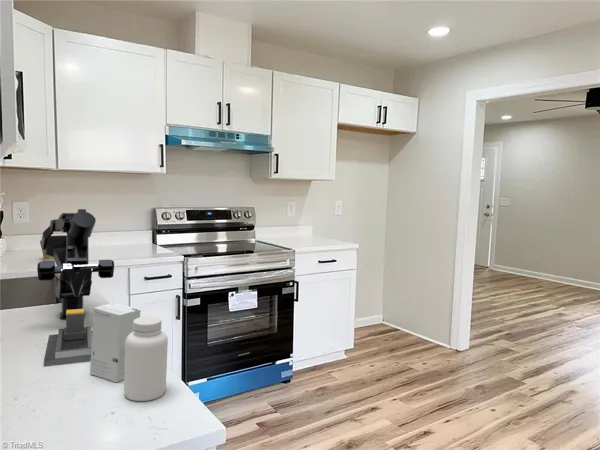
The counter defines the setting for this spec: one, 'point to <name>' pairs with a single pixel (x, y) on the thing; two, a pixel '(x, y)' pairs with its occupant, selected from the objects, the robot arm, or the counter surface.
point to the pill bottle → (145, 360)
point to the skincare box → (111, 339)
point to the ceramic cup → (47, 256)
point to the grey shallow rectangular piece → (68, 349)
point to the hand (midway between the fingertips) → (76, 296)
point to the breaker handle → (75, 325)
